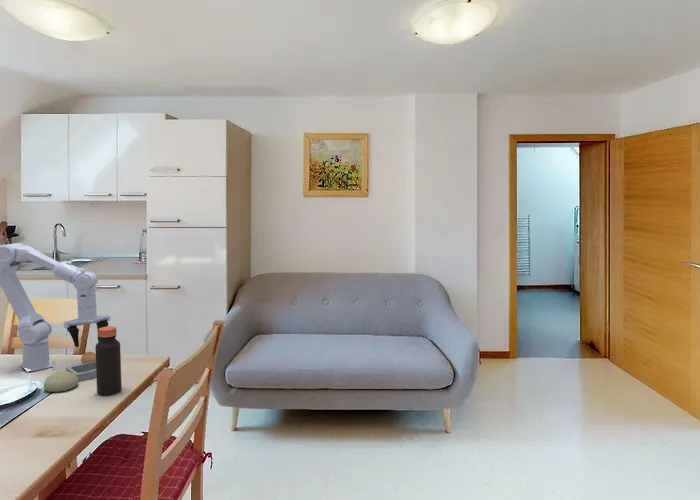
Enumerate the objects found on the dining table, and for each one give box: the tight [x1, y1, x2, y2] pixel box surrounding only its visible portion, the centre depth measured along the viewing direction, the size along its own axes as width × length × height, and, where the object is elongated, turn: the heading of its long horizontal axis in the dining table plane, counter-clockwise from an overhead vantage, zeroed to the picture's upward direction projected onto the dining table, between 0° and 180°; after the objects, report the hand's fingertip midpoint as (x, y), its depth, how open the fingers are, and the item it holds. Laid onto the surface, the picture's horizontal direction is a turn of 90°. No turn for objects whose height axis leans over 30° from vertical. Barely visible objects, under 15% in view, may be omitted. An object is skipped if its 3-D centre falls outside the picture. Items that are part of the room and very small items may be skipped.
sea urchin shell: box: [43, 370, 80, 393], centre depth 147 cm, size 9×8×8 cm
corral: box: [65, 361, 97, 383], centre depth 158 cm, size 10×11×2 cm
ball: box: [80, 351, 96, 364], centre depth 166 cm, size 5×5×5 cm
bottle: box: [94, 325, 123, 397], centre depth 144 cm, size 7×7×20 cm
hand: (88, 344), depth 166 cm, fingers open, 7 cm apart
